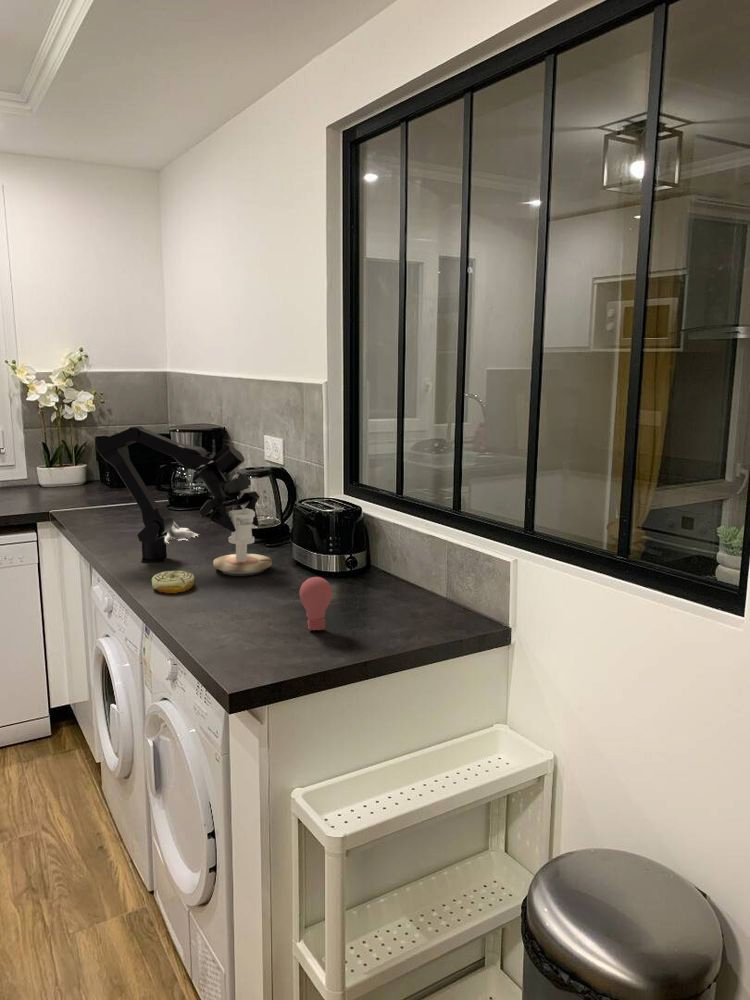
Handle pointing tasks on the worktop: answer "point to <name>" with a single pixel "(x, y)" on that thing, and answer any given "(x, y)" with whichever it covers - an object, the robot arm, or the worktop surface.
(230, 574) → the turntable base
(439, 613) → the worktop surface
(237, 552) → the strainer
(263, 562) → the turntable
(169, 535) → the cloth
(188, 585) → the decorated donut
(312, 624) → the light bulb
